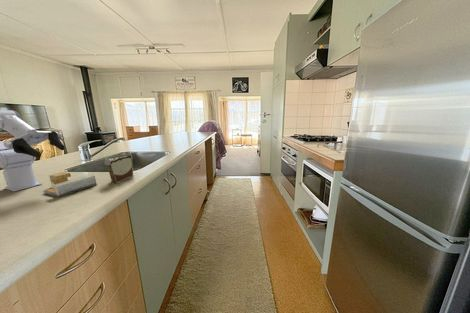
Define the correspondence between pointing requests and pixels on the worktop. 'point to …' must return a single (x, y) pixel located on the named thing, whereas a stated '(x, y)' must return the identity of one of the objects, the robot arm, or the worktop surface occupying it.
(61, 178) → the clip nut
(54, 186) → the grey and orange tray
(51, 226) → the worktop surface
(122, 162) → the food container
